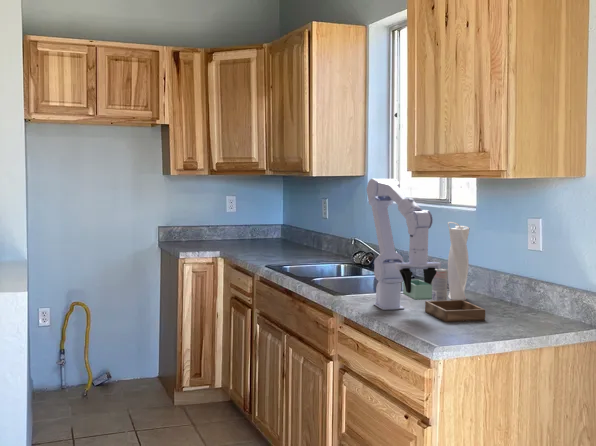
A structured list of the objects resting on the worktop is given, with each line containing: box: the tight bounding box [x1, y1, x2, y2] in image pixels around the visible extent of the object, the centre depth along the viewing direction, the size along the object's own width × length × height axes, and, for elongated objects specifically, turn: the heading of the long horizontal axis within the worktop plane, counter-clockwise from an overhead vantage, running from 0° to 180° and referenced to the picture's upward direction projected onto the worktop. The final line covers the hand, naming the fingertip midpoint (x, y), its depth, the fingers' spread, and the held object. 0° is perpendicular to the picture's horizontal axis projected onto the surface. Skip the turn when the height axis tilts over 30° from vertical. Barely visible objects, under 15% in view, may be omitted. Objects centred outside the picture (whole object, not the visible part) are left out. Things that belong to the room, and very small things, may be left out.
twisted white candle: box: [447, 221, 470, 301], centre depth 249 cm, size 8×7×28 cm
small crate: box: [402, 279, 432, 301], centre depth 216 cm, size 10×6×4 cm, turn 13°
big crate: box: [424, 299, 486, 323], centre depth 221 cm, size 15×13×4 cm
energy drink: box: [430, 267, 449, 301], centre depth 241 cm, size 5×5×12 cm
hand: (417, 291), depth 216 cm, fingers closed on small crate, 5 cm apart
